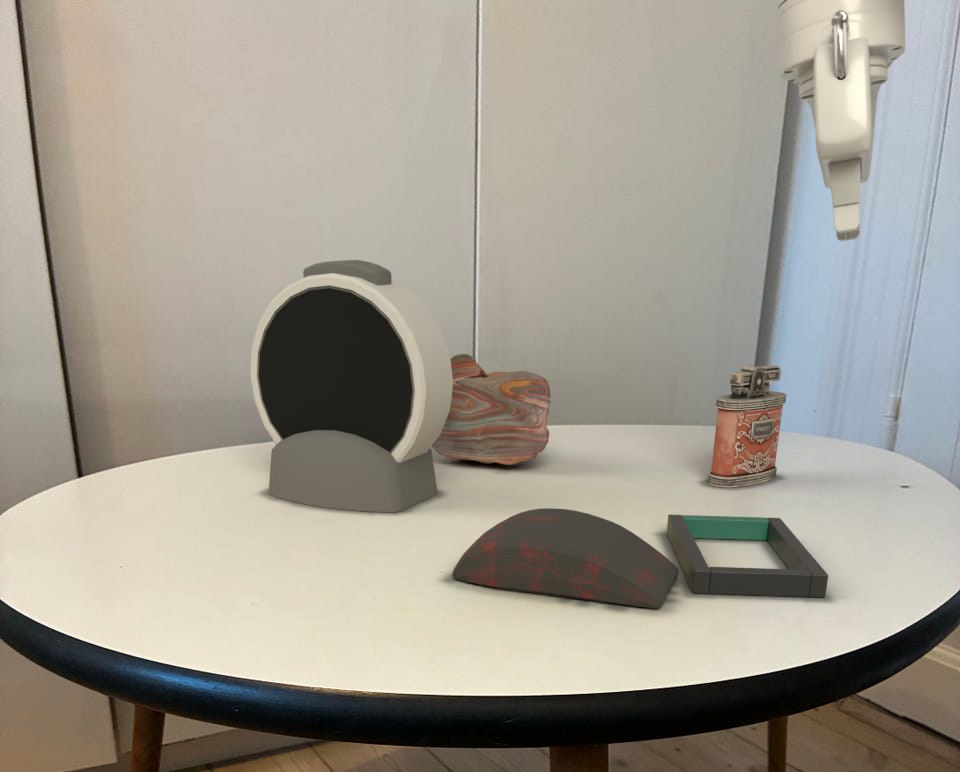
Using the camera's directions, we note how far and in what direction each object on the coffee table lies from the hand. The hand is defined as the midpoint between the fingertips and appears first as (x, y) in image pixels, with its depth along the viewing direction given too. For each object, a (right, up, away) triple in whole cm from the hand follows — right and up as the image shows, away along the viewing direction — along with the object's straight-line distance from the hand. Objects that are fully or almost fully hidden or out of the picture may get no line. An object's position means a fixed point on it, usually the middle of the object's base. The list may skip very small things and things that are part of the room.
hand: (847, 236), depth 80 cm
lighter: (-5, -17, +13) cm, 22 cm away
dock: (-11, -26, -11) cm, 31 cm away
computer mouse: (-23, -28, -15) cm, 39 cm away
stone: (-28, -15, +18) cm, 36 cm away
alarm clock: (-39, -20, +5) cm, 44 cm away
